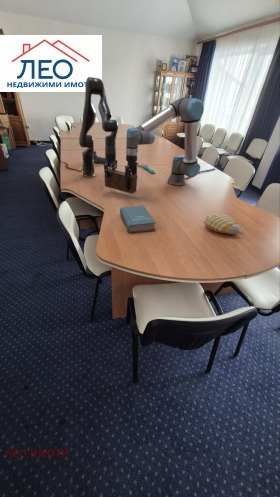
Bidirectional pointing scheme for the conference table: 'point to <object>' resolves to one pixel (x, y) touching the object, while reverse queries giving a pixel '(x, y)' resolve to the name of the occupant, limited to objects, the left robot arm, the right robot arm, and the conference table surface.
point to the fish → (223, 224)
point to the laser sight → (98, 159)
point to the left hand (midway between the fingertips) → (110, 176)
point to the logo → (145, 167)
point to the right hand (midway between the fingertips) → (130, 187)
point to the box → (120, 181)
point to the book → (137, 219)
